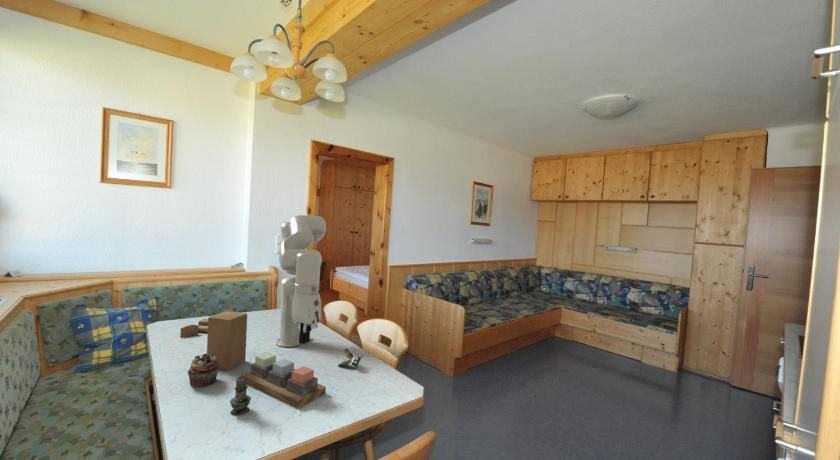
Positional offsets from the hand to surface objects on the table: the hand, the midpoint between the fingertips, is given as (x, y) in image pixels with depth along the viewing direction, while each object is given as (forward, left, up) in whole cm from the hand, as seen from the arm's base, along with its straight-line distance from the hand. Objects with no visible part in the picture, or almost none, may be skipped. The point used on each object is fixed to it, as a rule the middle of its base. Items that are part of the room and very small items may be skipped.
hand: (304, 342), depth 118 cm
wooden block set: (-14, -84, -19) cm, 88 cm away
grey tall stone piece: (+17, -8, -19) cm, 27 cm away
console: (0, -10, -19) cm, 21 cm away
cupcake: (+14, -35, -19) cm, 42 cm away
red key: (0, 0, -14) cm, 14 cm away
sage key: (0, -20, -14) cm, 24 cm away
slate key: (0, -10, -14) cm, 17 cm away
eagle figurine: (-28, -4, -19) cm, 34 cm away
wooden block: (+1, -43, -19) cm, 47 cm away
